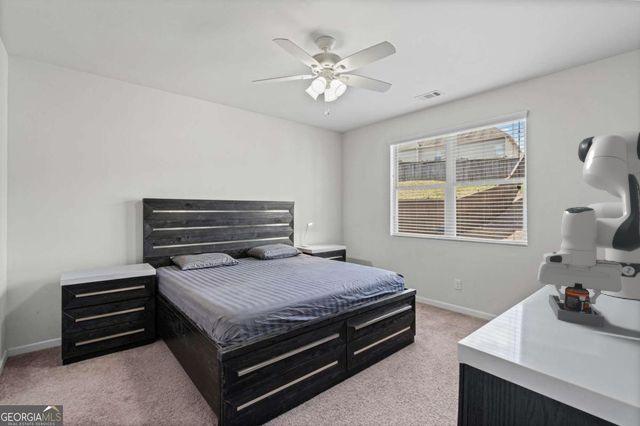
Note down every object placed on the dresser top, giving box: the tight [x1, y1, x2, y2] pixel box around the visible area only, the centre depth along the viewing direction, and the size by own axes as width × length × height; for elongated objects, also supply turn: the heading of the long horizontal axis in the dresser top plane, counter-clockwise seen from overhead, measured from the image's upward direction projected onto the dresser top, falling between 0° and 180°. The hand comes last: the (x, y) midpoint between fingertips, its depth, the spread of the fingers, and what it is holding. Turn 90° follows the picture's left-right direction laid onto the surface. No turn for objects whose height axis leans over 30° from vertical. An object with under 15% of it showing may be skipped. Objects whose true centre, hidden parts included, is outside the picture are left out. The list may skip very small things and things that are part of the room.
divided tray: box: [548, 294, 604, 328], centre depth 100 cm, size 20×11×4 cm, turn 149°
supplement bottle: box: [564, 283, 590, 314], centre depth 96 cm, size 6×6×11 cm
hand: (576, 301), depth 96 cm, fingers closed on supplement bottle, 6 cm apart
